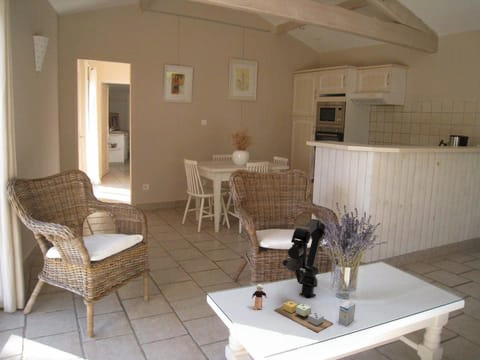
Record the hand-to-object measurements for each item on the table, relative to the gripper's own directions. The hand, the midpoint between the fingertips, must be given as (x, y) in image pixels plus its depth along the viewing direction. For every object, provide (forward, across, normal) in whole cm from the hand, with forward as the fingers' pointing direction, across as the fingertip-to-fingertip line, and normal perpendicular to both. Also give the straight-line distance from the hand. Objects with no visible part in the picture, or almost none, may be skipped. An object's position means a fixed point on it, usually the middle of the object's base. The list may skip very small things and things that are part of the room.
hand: (299, 282), depth 202 cm
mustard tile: (+11, +2, -8) cm, 14 cm away
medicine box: (+12, +25, +5) cm, 28 cm away
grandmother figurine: (+12, -10, -18) cm, 24 cm away
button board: (+12, +10, -8) cm, 17 cm away
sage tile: (+10, +9, -8) cm, 16 cm away
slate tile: (+11, +17, -8) cm, 22 cm away
